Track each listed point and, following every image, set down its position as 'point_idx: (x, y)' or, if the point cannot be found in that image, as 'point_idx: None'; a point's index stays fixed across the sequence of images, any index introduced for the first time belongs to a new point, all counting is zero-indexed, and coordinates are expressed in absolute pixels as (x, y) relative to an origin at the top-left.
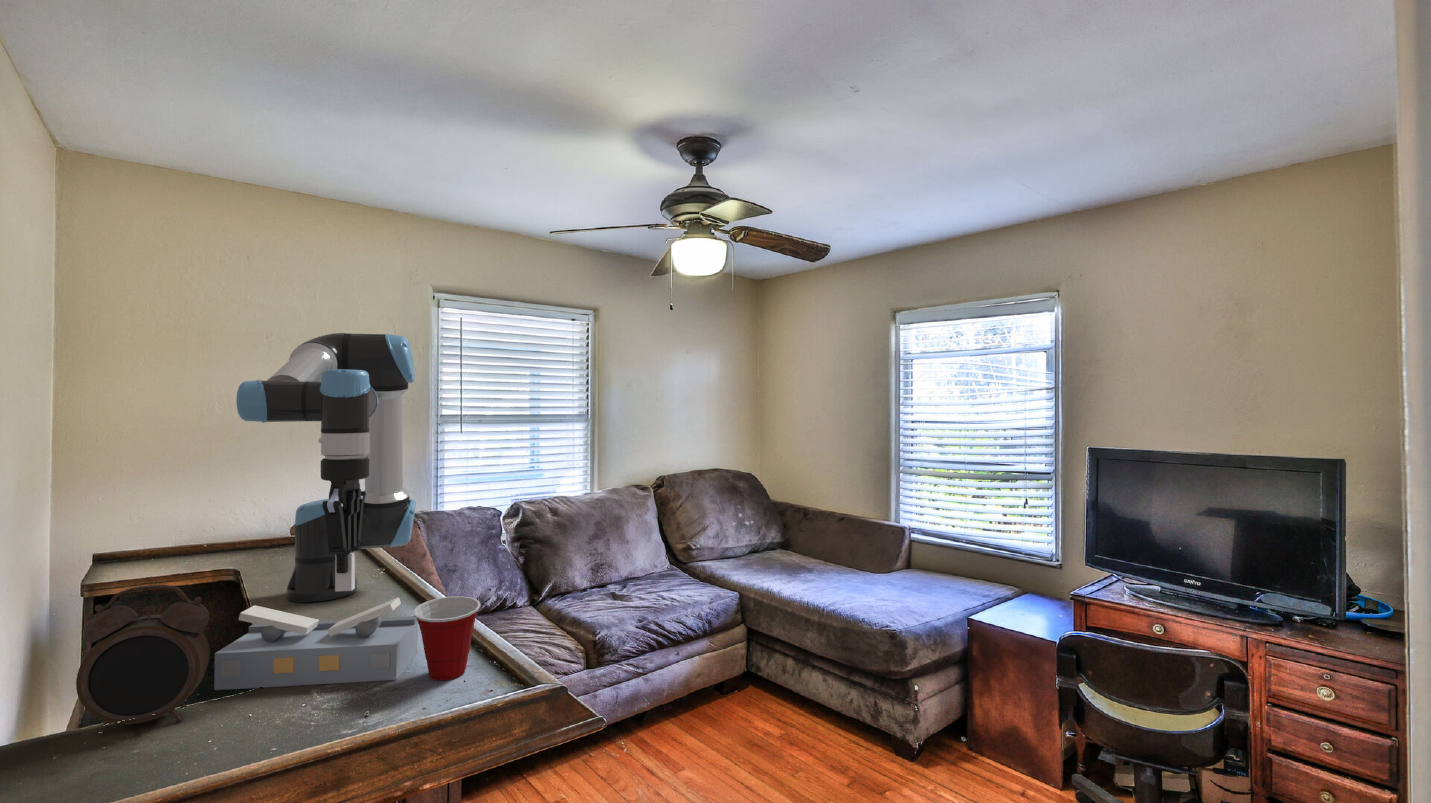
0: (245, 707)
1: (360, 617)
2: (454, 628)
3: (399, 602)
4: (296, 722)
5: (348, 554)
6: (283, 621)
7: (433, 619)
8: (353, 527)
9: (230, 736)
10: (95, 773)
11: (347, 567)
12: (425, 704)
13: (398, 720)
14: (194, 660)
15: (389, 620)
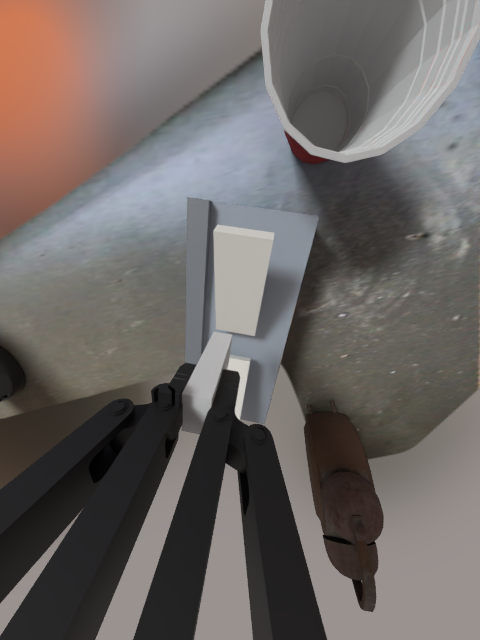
0: (321, 363)
1: (262, 295)
2: (440, 14)
3: (223, 227)
4: (393, 312)
5: (210, 405)
6: (240, 394)
7: (461, 70)
8: (127, 510)
9: (392, 360)
10: (409, 423)
11: (223, 377)
12: (436, 147)
13: (474, 183)
14: (360, 444)
15: (205, 250)
